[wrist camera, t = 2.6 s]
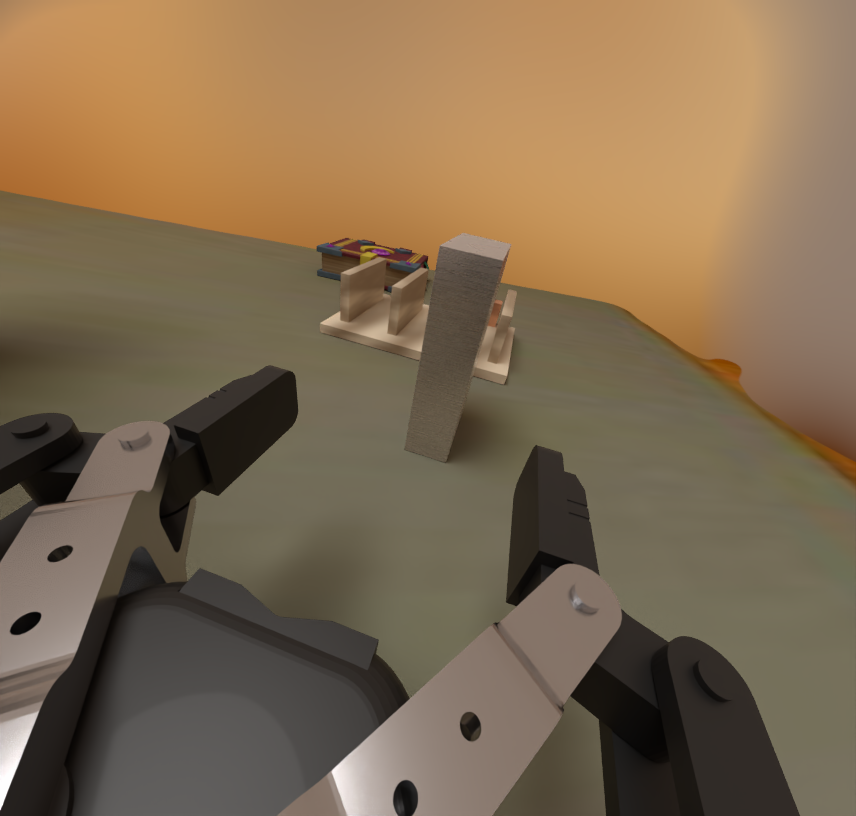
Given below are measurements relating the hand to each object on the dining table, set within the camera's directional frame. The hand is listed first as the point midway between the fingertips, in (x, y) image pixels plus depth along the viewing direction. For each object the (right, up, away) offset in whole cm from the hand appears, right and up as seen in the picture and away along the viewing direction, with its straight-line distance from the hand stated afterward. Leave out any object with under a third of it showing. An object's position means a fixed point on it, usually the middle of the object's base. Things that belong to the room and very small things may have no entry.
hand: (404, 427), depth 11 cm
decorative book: (-8, +22, +44) cm, 50 cm away
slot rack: (+1, +10, +29) cm, 30 cm away
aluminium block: (+1, -1, +14) cm, 14 cm away
